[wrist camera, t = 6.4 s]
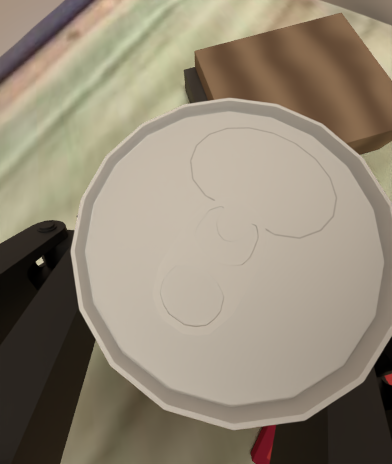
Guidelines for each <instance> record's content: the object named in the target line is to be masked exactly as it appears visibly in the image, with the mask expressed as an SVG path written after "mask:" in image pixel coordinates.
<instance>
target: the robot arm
mask: <svg viewBox="0 0 392 464" xmlns="http://www.w3.org/2000/svg"><path fill="white" fill-rule="evenodd" d="M77 217H78V215H77ZM74 232H75V230H67V228H66V225H65V224H64V223H63V222H61V221H55V220H49V221H44V222H40V223H37V224H35V225H32V226H31V227H29V228H27V229H25V230H24V231H22V232H20V233H18V234H16V235H15V236H13V237H11V238H9V239H8V240H6V241H4V242H2V243H1V244H0V464H60V463H61V459H62V455H63V451H64V448H65V444H66V441H67V437H68V434H69V430H70V427H71V424H72V420H73V417H74V413H75V410H76V406H77V403H78V399H79V396H80V392H81V389H82V385H83V382H84V379H85V375H86V372H87V368H88V365H89V361H90V358H91V354H92V351H93V347H94V344H95V340H96V339H95V337H94V335H93V334H92V332H91V330H90V328H89V326H88V325H87V323H86V321H85V319H84V317H83V316H82V314H81V312H80V310H79V305H78V298H77V292H76V285H75V278H74V271H73V265H72V258H71V247H72V242H73V237H74ZM41 257H42V259H43V261H44V263H42V264H41V265H39V266H38V265H37V264H36V261H37V260H38V259H40V258H41ZM389 374H392V336H391V338H390V340H389V341H388V343H387V344H386V346H385V348H384V349H383V351H382V353H381V354H380V356H379V358H378V359H377V361H376V362H375V364H374V366H373V367H372V369H371V371H370V372H369V374H368V375H367V377H366V379H365V380H364V382H363V383H361V384H360V385H358V386H357V387H355V388H354V389H352V390H351V391H349V392H348V393H346V394H345V395H343V396H341V397H340V398H338V399H337V400H335V401H334V402H332V403H331V404H329V405H328V406H326V407H325V408H323V409H322V410H320V411H319V412H317V413H316V414H314V415H313V416H311V417H309V418H308V419H306V420H304V421H297V422H290V423H283V424H276V428H275V434H274V440H273V446H272V451H271V457H270V463H269V464H392V385H390V384H389V383H388V381H387V380H386V378H385V376H386V375H389Z"/></svg>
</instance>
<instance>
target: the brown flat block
mask: <svg viewBox="0 0 392 464" xmlns="http://www.w3.org/2000/svg"><path fill="white" fill-rule="evenodd" d="M184 77H185V89H186V92H187V95H188V98H189V101H190V103H197V102H204V101H211V100H218V99H224V98H236V99H243V100H250V101H258V102H265V103H273V104H278V105H280V106H283V107H285V108H287V109H289V110H292V111H294V112H296V113H299V114H301V115H303V116H306V117H308V118H310V119H312V120H315V121H317V122H319V123H322V124H323V125H324V126H326V127H327V128H328V129H329V130H330V131H332V132H333V133H334V134H335V135H336V136H338V137H339V138H340V139H341V140H342V141H344V142H345V143H346V144H347V145H348V146H350V147H351V148H352V149H353V150H354V151H355V152H357V153H358V154H359V155H361V154H364V153H367V152H371V151H374V150H378V149H380V148H381V147H383V146H385V145H386V144H388V143H389V142H391V141H392V81H391V79H390V78H389V76H388V75H387V74H386V72H385V71H384V70H383V68H382V67H381V66H380V64H379V63H378V62H377V60H376V59H375V58H374V56H373V55H372V53H371V52H370V51H369V49H368V48H367V47H366V45H365V44H364V43H363V41H362V40H361V39H360V37H359V36H358V35H357V33H356V32H355V30H354V29H353V28H352V26H351V25H350V24H349V22H348V21H347V20H346V18H345V17H344V16H343V14H342V13H338V14H335V15H331V16H327V17H323V18H319V19H315V20H312V21H308V22H304V23H300V24H296V25H292V26H289V27H285V28H281V29H277V30H273V31H269V32H266V33H262V34H258V35H254V36H250V37H246V38H243V39H239V40H235V41H231V42H227V43H223V44H220V45H216V46H212V47H208V48H204V49H200V50H197V51H195V67H193V68H189V69H186V70H184Z"/></svg>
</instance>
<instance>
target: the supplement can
mask: <svg viewBox="0 0 392 464" xmlns="http://www.w3.org/2000/svg"><path fill="white" fill-rule="evenodd" d="M71 258H72V265H73V271H74V278H75V285H76V292H77V298H78V305H79V310H80V312H81V314H82V316H83V317H84V319H85V321H86V323H87V325H88V326H89V328H90V330H91V332H92V334H93V335H94V337H95V339H96V341H97V343H98V344H99V346H100V348H101V350H102V352H103V353H104V355H105V357H106V359H107V361H108V362H109V364H110V366H111V367H112V368H114V369H115V370H116V371H117V372H119V373H120V374H121V375H122V376H123V377H125V378H126V379H127V380H128V381H130V382H131V383H132V384H133V385H134V386H136V387H137V388H138V389H139V390H141V391H142V392H143V393H144V394H145V395H147V396H148V397H149V398H150V399H151V400H153V401H154V402H155V403H156V404H158V405H159V406H160V407H161V408H162V409H164V410H166V411H170V412H173V413H176V414H180V415H183V416H187V417H190V418H193V419H197V420H200V421H204V422H207V423H210V424H214V425H217V426H220V427H224V428H227V429H231V430H240V429H247V428H254V427H261V426H268V425H276V424H283V423H290V422H297V421H304V420H306V419H308V418H309V417H311V416H313V415H314V414H316V413H317V412H319V411H320V410H322V409H323V408H325V407H326V406H328V405H329V404H331V403H332V402H334V401H335V400H337V399H338V398H340V397H341V396H343V395H345V394H346V393H348V392H349V391H351V390H352V389H354V388H355V387H357V386H358V385H360V384H361V383H363V382H364V380H365V379H366V377H367V375H368V374H369V372H370V371H371V369H372V367H373V366H374V364H375V362H376V361H377V359H378V358H379V356H380V354H381V353H382V351H383V349H384V348H385V346H386V344H387V343H388V341H389V340H390V338H391V336H392V202H391V201H390V199H389V198H388V196H387V195H386V193H385V192H384V190H383V188H382V187H381V185H380V184H379V182H378V181H377V179H376V177H375V176H374V174H373V173H372V171H371V170H370V168H369V166H368V165H367V163H366V162H365V160H364V159H363V157H361V156H360V155H359V154H358V153H357V152H355V151H354V150H353V149H352V148H351V147H350V146H348V145H347V144H346V143H345V142H344V141H342V140H341V139H340V138H339V137H338V136H336V135H335V134H334V133H333V132H332V131H330V130H329V129H328V128H327V127H326V126H324V125H323V124H322V123H319V122H317V121H315V120H312V119H310V118H308V117H306V116H303V115H301V114H299V113H296V112H294V111H292V110H289V109H287V108H285V107H283V106H280V105H278V104H273V103H265V102H258V101H250V100H243V99H236V98H224V99H218V100H211V101H204V102H197V103H190V104H184V105H181V106H179V107H177V108H175V109H173V110H171V111H168V112H166V113H164V114H162V115H160V116H158V117H155V118H153V119H151V120H149V121H147V122H145V123H142V124H141V125H140V126H139V127H138V128H136V129H135V130H134V131H133V132H132V133H131V134H130V135H129V136H127V137H126V138H125V139H124V140H123V141H122V142H121V143H120V144H119V145H117V146H116V147H115V148H114V149H113V150H112V151H111V152H110V153H108V154H107V155H106V157H105V158H104V160H103V162H102V164H101V165H100V167H99V169H98V170H97V172H96V174H95V176H94V177H93V179H92V181H91V182H90V184H89V186H88V188H87V189H86V191H85V193H84V195H83V196H82V198H81V202H80V207H79V212H78V217H77V222H76V227H75V232H74V237H73V242H72V247H71Z"/></svg>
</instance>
